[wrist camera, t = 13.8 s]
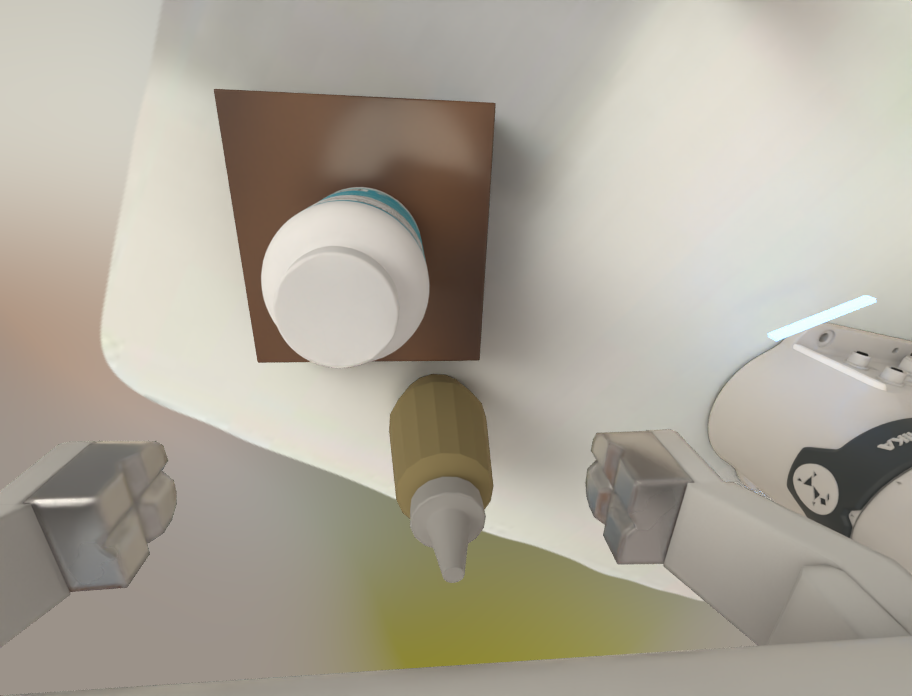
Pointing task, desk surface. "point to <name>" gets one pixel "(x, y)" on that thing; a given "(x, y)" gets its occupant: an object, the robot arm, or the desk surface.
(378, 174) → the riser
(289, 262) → the pill bottle
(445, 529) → the squeeze bottle
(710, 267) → the desk surface
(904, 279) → the desk surface
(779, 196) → the desk surface
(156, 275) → the desk surface
